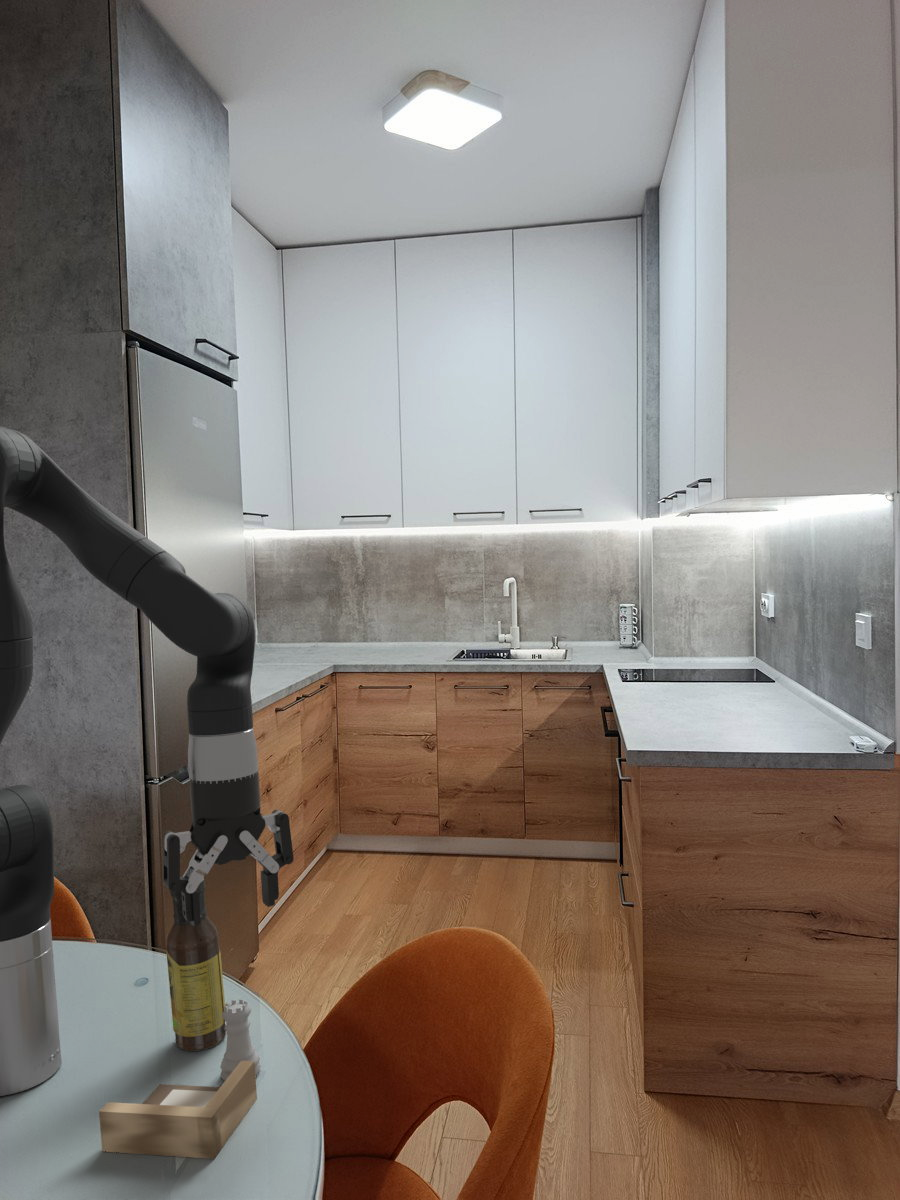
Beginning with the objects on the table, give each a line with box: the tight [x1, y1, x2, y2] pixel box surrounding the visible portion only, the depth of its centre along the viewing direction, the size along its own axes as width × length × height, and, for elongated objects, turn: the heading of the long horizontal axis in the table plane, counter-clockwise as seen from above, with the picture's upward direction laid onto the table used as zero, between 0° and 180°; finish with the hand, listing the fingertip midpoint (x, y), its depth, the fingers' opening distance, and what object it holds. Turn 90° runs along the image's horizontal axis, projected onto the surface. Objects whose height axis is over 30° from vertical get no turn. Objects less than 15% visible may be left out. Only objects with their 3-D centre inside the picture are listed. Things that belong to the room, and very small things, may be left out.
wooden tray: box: [98, 1061, 258, 1160], centre depth 89 cm, size 12×11×4 cm
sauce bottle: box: [165, 877, 227, 1052], centre depth 105 cm, size 6×6×20 cm
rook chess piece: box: [220, 998, 262, 1082], centre depth 97 cm, size 4×4×8 cm
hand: (232, 913), depth 97 cm, fingers open, 8 cm apart
